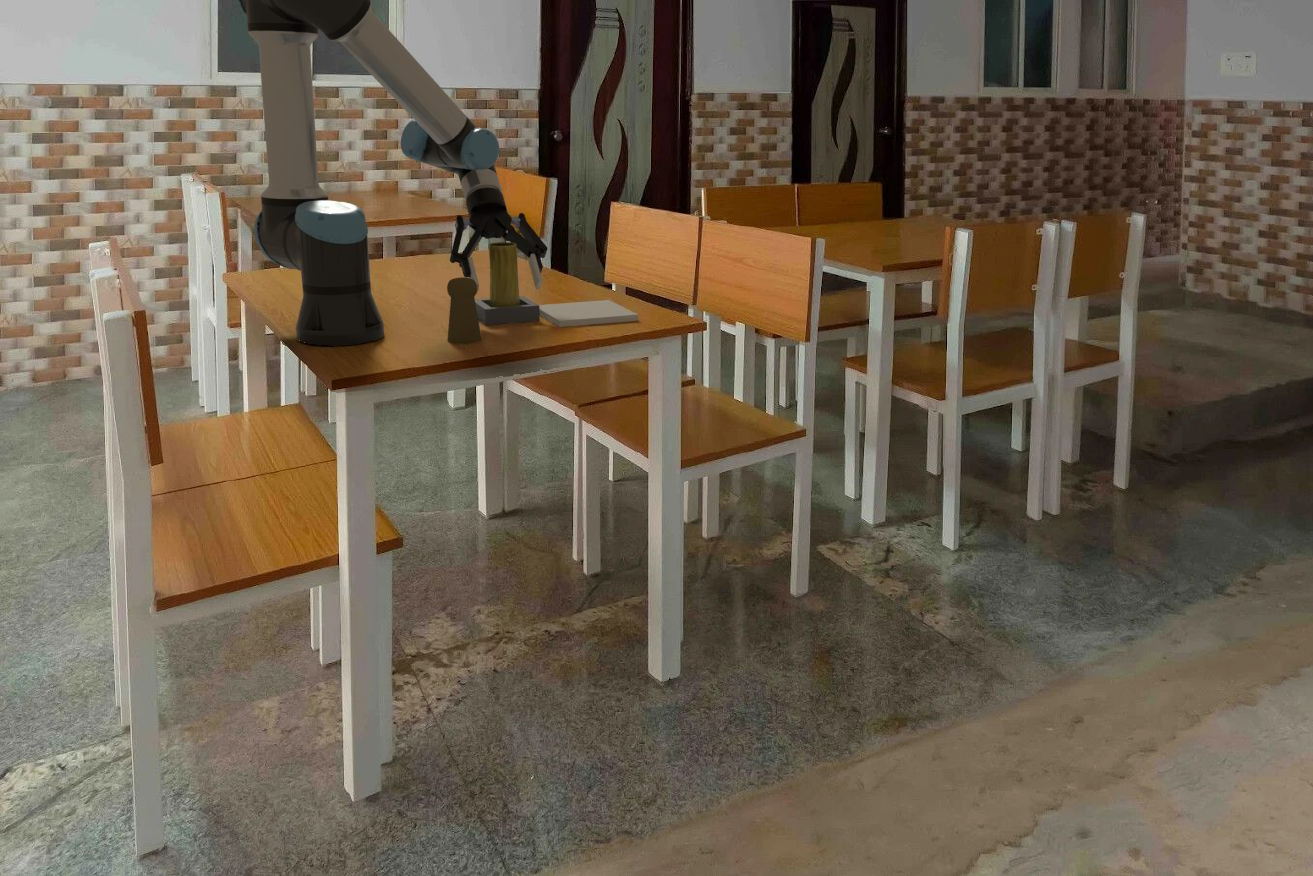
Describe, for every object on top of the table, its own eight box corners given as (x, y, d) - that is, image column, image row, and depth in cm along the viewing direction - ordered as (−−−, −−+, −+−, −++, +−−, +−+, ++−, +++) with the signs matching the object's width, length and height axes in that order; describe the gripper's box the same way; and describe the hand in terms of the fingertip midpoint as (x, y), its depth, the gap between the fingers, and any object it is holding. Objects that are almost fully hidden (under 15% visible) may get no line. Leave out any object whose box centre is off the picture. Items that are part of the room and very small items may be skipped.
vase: (483, 319, 214) (480, 245, 210) (499, 313, 219) (496, 241, 215) (511, 322, 212) (509, 247, 207) (526, 316, 217) (524, 242, 213)
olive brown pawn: (466, 334, 201) (463, 274, 198) (488, 339, 198) (486, 277, 194) (440, 340, 197) (436, 278, 193) (463, 345, 193) (460, 282, 190)
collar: (485, 325, 209) (485, 309, 208) (472, 314, 218) (471, 299, 217) (539, 320, 213) (539, 305, 212) (523, 310, 222) (523, 295, 221)
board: (559, 326, 208) (559, 320, 207) (534, 311, 222) (533, 305, 221) (638, 320, 214) (638, 314, 213) (608, 305, 228) (608, 299, 227)
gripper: (538, 207, 228) (563, 294, 219) (421, 212, 219) (443, 303, 210) (545, 183, 221) (572, 271, 213) (425, 187, 212) (448, 279, 204)
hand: (508, 287), depth 211 cm, fingers open, 12 cm apart
